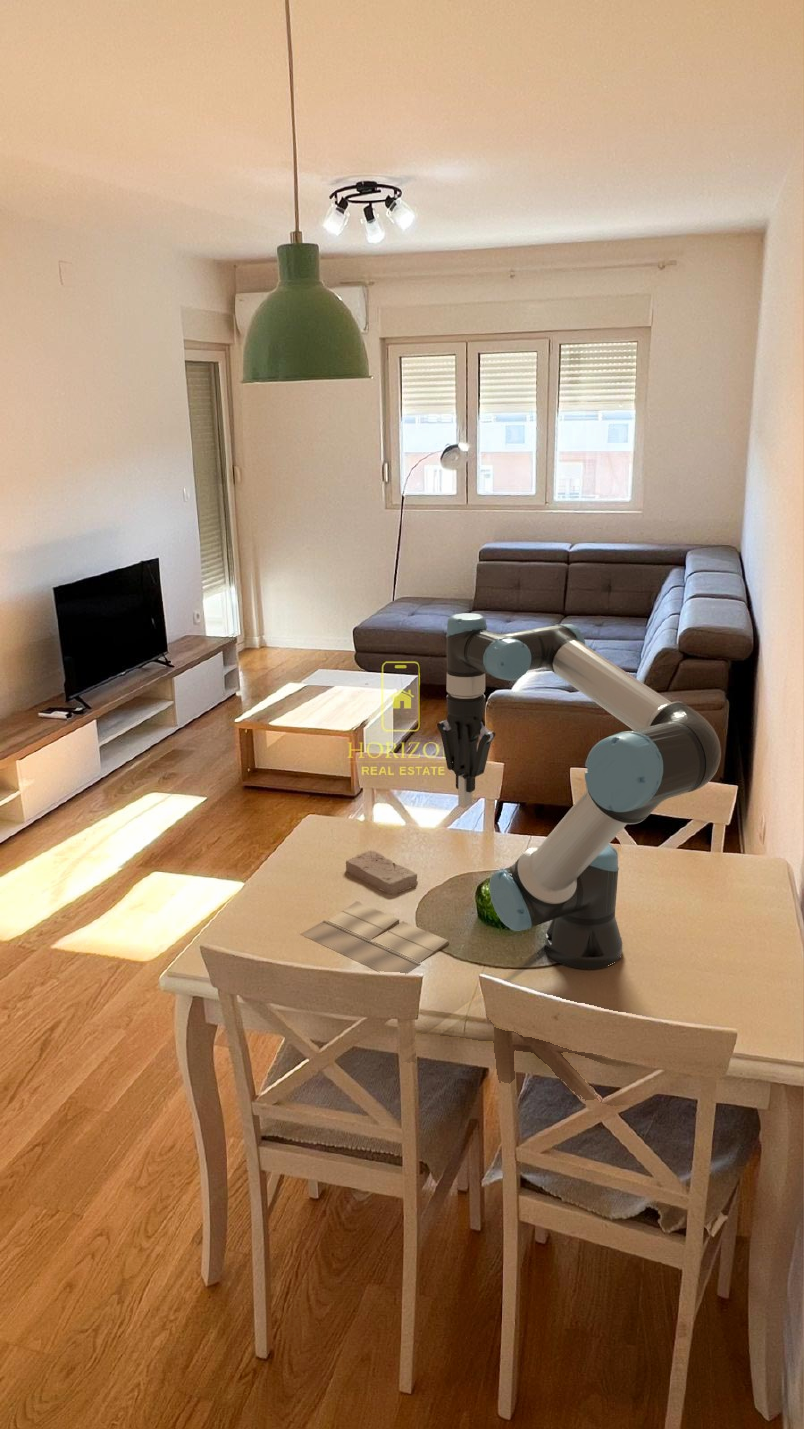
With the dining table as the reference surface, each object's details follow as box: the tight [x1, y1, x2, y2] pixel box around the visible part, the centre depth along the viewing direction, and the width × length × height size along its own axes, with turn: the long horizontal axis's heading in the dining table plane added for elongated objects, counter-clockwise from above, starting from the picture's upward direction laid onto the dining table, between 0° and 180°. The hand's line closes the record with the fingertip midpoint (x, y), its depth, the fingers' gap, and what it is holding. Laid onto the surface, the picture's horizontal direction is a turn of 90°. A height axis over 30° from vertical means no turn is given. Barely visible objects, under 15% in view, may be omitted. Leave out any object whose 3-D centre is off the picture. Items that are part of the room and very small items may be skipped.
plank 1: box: [327, 901, 400, 941], centre depth 206 cm, size 12×9×1 cm
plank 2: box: [373, 920, 450, 964], centre depth 198 cm, size 12×9×1 cm
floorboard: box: [299, 920, 422, 974], centre depth 196 cm, size 26×7×2 cm, turn 49°
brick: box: [345, 849, 419, 896], centre depth 225 cm, size 17×8×5 cm, turn 42°
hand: (465, 805), depth 201 cm, fingers closed
